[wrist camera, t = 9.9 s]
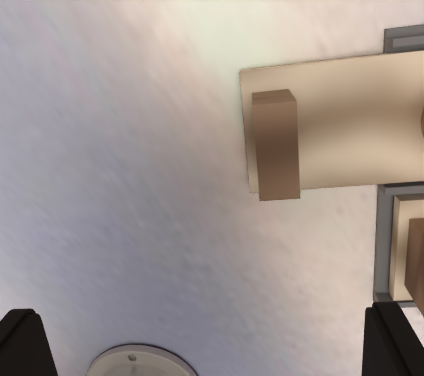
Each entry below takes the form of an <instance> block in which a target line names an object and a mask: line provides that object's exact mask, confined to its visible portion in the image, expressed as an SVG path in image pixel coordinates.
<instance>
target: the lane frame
mask: <svg viewBox="0 0 424 376" xmlns="http://www.w3.org/2000/svg"><path fill="white" fill-rule="evenodd" d="M419 49H424V25H416V26H408V27H400V28H392V29H385V33H384V53H393V52H402V51H411V50H419ZM416 193H424V181H414V182H400V183H386V184H378V198H377V221H376V244H375V268H374V291H373V301H374V302H389V301H393V299H392V297H391V295H390V293H389V278H390V261H391V244H392V228H393V211H394V195H401V194H416ZM395 302H397V303H398V304H399V306H400V308H405V307H417V305H416V304H415V302H414V300H398V301H395Z"/></svg>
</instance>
